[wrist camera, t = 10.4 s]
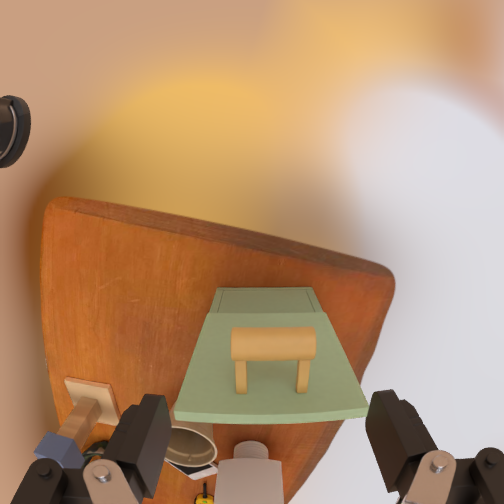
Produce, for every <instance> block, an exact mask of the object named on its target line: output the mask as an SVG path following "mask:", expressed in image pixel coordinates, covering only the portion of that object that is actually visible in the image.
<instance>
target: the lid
mask: <svg viewBox="0 0 504 504" xmlns="http://www.w3.org/2000/svg"><path fill="white" fill-rule="evenodd" d="M368 409H369V405H368V403H367V400H366V398H365V396H364V394H363V392H362V389H361V387H360V385H359V383H358V380H357V378H356V376H355V374H354V372H353V369H352V367H351V365H350V363H349V361H348V359H347V357H346V354H345V352H344V350H343V348H342V346H341V344H340V342H339V339H338V337H337V335H336V333H335V331H334V329H333V327H332V325H331V323H330V321H329V319H328V316H327V314H326V312H313V313H207V315H206V318H205V321H204V324H203V327H202V329H201V332H200V335H199V338H198V341H197V344H196V346H195V349H194V352H193V355H192V358H191V361H190V364H189V367H188V369H187V372H186V375H185V378H184V381H183V384H182V387H181V390H180V393H179V396H178V399H177V402H176V405H175V408H174V416H175V420H179V421H190V422H204V423H223V424H290V423H309V422H322V421H334V420H343V419H352V418H360V417H367V413H368Z"/></svg>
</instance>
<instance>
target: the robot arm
mask: <svg viewBox="0 0 504 504" xmlns="http://www.w3.org/2000/svg"><path fill="white" fill-rule="evenodd" d="M13 103H14V101H13V100H10V99H5V98H0V160H1V159H3V158H4V157H5V156H6V155H7V154H8V153H9V152H10V150H11V149H12V147H13V145H14V142H15V139H16V136H17V131H18V116H17V112H16V110H15V108H14V107H13ZM365 427H366V432H367V436H368V438H369V441H370V444H371V446H372V449H373V452H374V455H375V457H376V460H377V463H378V466H379V468H380V471H381V474H382V477H383V480H384V482H385V485H386V488H387V491H388V493H390V492H394V491H398V492H399V495H400V496H399V498H398V500H397V502H396V504H504V454H503V452H502V451H500V450H498V449H496V448H484V449H482V450H481V451H480V452H479V453H478V454H477V455H476V457H475V458H468V459H454V457H453V456H452V455H451V454H450V453H448V452H446V451H442V450H438V448H437V446H436V445H435V443H434V441H433V439H432V437H431V436H430V434H429V432H428V430H427V428H426V427H425V425H424V424H423V422H422V420H421V418H420V417H419V415H418V413H417V411H416V409H415V408H414V406H412V405H411V404H410V403H408V402H407V401H406V400H405V399H404V400H399V399H398V397H397V395H396V393H395V392H394V390H391V389H390V390H384V391H377V392H374V393H373V395H372V398H371V402H370V406H369V409H368V413H367V417H366V422H365ZM171 433H172V424H171V419H170V415H169V410H168V406H167V402H166V398H165V396H164V395H154V394H145V395H144V396H143V398H142V401H141V403H140V405H133V404H132V405H131V406H130V407H129V408H128V409H127V410H125V411H124V412H123V414H122V416H121V418H120V420H119V423H118V424H117V426H116V428H115V431H114V432H113V434H112V436H111V439H110V441H109V443H108V445H107V447H106V449H105V451H104V453H103V455H102V457H101V459H98V460H95V461H92V462H90V463H89V464H88V465H87V466H86V467H85V468H81V469H76V468H62V467H61V466H60V464H59V463H58V462H57V461H55V460H54V459H51V458H41V459H38V460H36V461H35V462H33V463H32V464H31V466H30V467H29V469H28V471H27V473H26V475H25V476H24V478H23V480H22V482H21V484H20V486H19V488H18V490H17V492H16V493H15V495H14V497H13V500H12V502H11V503H10V504H142V501H143V498H144V497H145V498H151V499H153V497H154V493H155V490H156V486H157V483H158V479H159V476H160V472H161V469H162V465H163V462H164V458H165V455H166V452H167V448H168V445H169V441H170V438H171Z"/></svg>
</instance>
